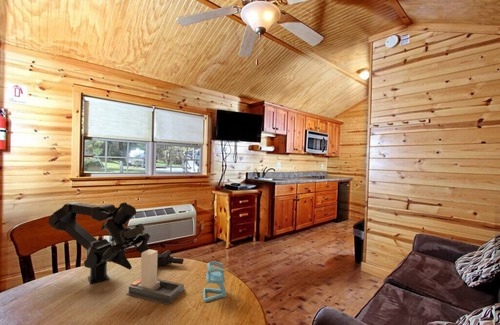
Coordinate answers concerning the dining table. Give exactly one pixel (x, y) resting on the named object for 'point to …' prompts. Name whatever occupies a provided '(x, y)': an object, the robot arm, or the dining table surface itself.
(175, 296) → the grey tray
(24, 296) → the dining table surface
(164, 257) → the black angular piece
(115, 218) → the robot arm
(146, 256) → the slider
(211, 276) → the chair
